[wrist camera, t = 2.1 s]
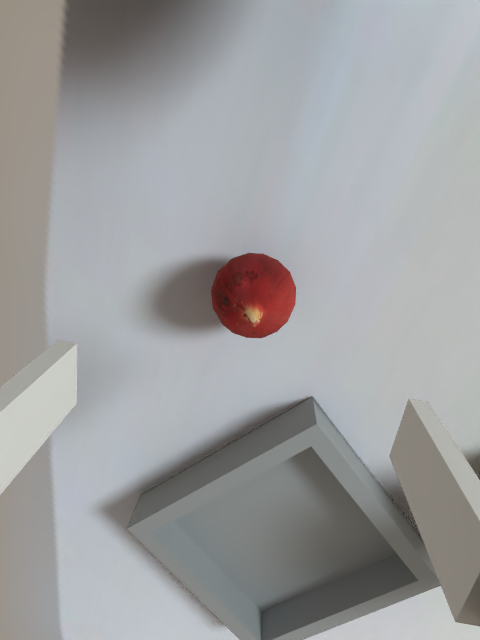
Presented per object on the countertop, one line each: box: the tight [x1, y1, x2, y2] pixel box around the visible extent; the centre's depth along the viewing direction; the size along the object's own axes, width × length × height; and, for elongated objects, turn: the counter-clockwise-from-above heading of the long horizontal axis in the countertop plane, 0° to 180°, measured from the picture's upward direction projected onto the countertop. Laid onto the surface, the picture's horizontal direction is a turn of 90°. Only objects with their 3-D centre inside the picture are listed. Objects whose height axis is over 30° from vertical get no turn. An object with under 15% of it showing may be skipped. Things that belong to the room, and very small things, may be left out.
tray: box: [127, 397, 441, 640], centre depth 39 cm, size 20×20×4 cm
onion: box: [211, 253, 296, 338], centre depth 29 cm, size 6×6×8 cm
